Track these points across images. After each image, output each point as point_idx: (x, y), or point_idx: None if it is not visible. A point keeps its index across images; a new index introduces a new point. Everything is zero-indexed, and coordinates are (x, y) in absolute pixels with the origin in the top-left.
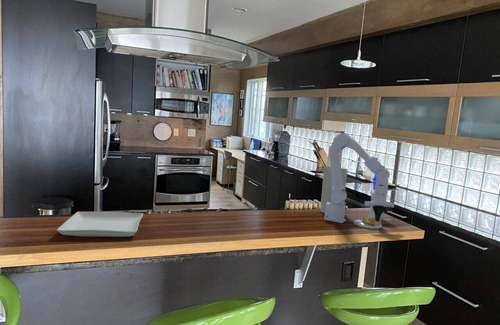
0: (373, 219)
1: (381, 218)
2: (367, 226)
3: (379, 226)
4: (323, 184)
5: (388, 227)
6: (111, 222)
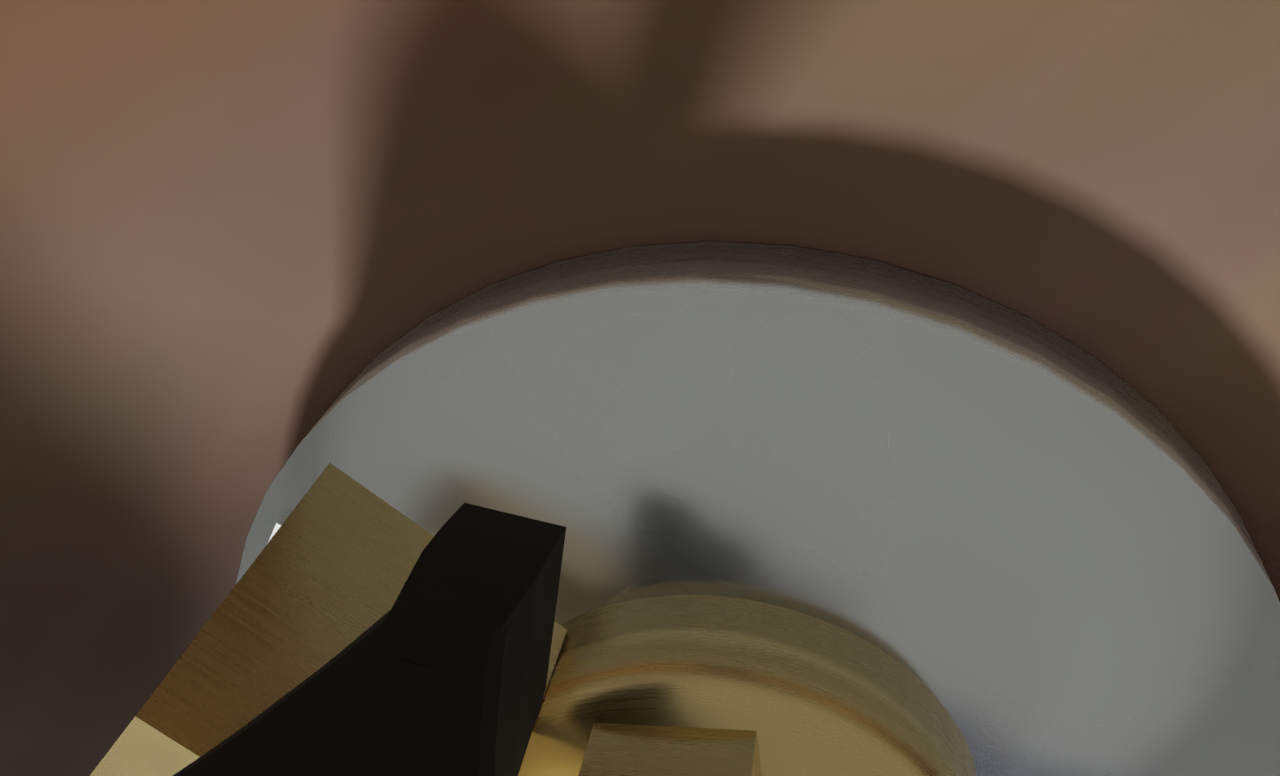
0: (604, 768)
1: (193, 664)
2: (1163, 452)
3: (535, 319)
4: None
5: (34, 371)
6: None
